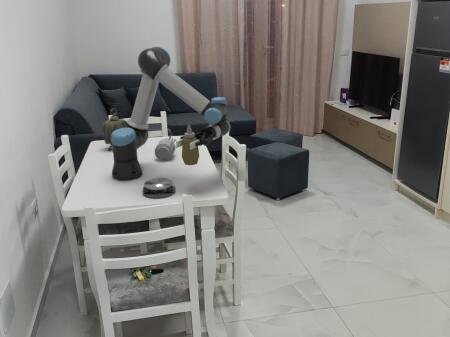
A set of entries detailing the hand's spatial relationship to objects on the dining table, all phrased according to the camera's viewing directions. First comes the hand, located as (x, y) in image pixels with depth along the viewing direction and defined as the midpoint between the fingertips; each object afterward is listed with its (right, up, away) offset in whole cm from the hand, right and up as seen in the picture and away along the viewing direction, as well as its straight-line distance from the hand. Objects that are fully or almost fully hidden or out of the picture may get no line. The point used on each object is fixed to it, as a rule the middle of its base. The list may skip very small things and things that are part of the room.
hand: (183, 145), depth 191 cm
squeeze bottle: (+3, -8, +8) cm, 11 cm away
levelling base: (-12, -21, +7) cm, 25 cm away
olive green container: (-48, +2, +77) cm, 90 cm away
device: (-16, -1, +64) cm, 66 cm away
